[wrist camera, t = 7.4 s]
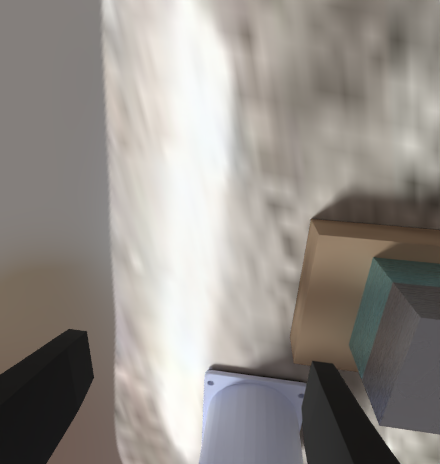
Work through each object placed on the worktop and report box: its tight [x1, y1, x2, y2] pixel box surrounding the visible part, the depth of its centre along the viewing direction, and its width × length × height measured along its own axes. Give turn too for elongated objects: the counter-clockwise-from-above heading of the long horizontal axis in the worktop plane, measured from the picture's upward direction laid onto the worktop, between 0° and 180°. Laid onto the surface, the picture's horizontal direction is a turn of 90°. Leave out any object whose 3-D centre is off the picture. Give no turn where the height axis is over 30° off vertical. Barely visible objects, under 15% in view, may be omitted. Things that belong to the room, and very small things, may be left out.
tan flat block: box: [290, 219, 440, 372], centre depth 18 cm, size 9×10×2 cm
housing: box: [349, 257, 440, 434], centre depth 14 cm, size 6×4×5 cm, turn 177°
